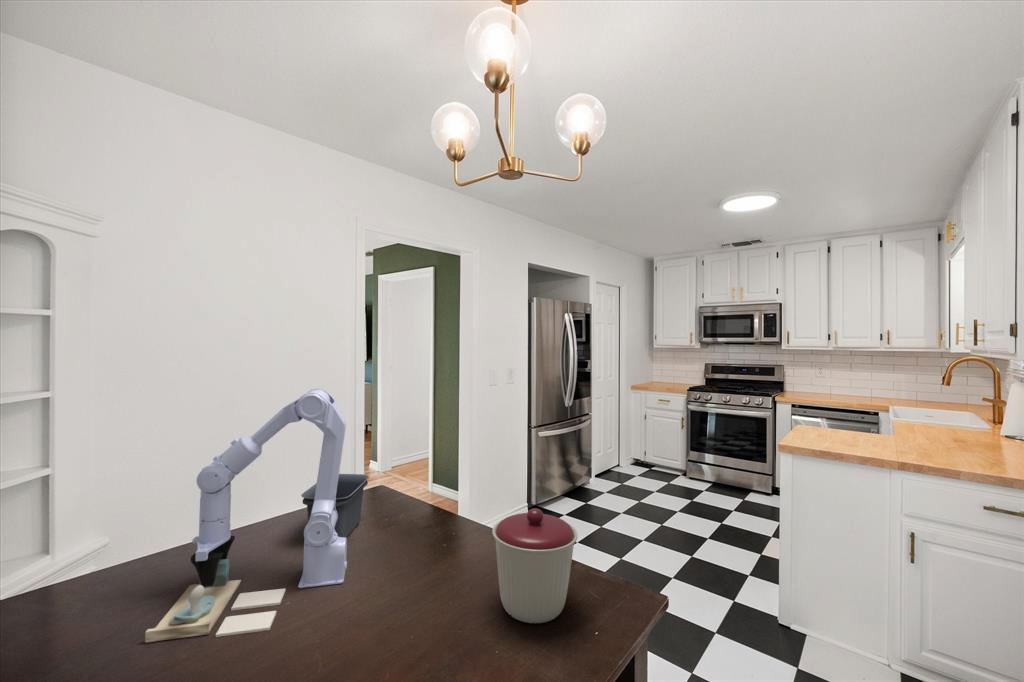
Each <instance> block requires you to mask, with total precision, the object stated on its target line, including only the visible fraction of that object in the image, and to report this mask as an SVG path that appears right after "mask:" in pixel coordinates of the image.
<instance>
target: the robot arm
mask: <svg viewBox="0 0 1024 682" xmlns="http://www.w3.org/2000/svg"><path fill="white" fill-rule="evenodd" d="M302 419H303V420H305V421H308V422H310V423H312V424H314V425H315V426H316V427H317V428H318V429H319V430H320V431H321V432H322V433H323V436H322V437H323V438H322V445H321V451H320V457H319V464H318V465H319V466H318V471H317V479H316V483H317V485H316V491H315V498H314V504H313V508H312V512H311V516H310V519H309V522H308V521H307V522H308V523H307V524H306V525H305V527H304V530H303V537H304V541H303V564H302V565H303V567H302V569H303V571H302V575H301V578H300V581H299V583H298V586H297V587H298V588H299V589H303V588H304V589H305V588H311V587H313V588H314V587H321V586H330V585H338V584H343V583H344V582H345V581H344V580H345V575H346V570H347V567H348V561H347V548H348V546H347V544H348V540H347V539H348V537H347V538H346V537H338V534H337V533H336V531H335V529H334V528H335V524H336V522H337V519H338V514H337V511H336V508H335V504H336V492H337V485H338V478H339V474H340V470H341V469H340V468H341V464H342V456H343V455H342V454H343V450H344V444H345V443H344V441H345V435H346V427H347V425H346V423H347V421H346V420H345V419H344V416H343V414H342V412H341V410H340V409H339V406H338V404H337V402H336V398H334V397H333V396H332V395H331V394H330V393H329V392H328V391H326V389H323V388H313V389H310V390H309V391H307V392H306V393H303V394H302V395H301V396H300V397H299V398H297V399H295V400H294V401H292V402H290V403H289V404H287V405H286V406H284V407H282V408H281V410H279V411H278V412H277V413H276V414H274V416H272V418H270V419H269V420H268V421H267V422H266V423H264V425H262V426H261V428H259V429H258V430H257V431H256V432H255V433H254V434H253V435H251V436H250V435H247V436H244V435H243V436H241V437H240V438H237V437H236V438H235V439H233V440H232V441H231V442H230V446H229V447H228V448H227V449H225V450H224V451H223V453H221V454H220V455H219V454H217V455H215V456H214V457H213V458H212V460H213V462H212V463H210V464H209V465H207V466H205V467H203V468H202V470H201V471H200V472H199V473H198V475H197V477H196V485H197V487H198V489H200V498H199V521H198V523H199V524H198V535H197V536H195V537H193V539H192V540H191V543H192V544H196V546H197V549H196V551H195V553H192V555H191V556H190V563H191V564H192V565H193V566H194V567H195V569H196V572H197V575H198V578H199V584H200V583H201V585H202V586H203V587H207V586H213V584H214V582H215V578H216V572H217V567H218V564H219V561H220V560H223V559H228V555H229V553H230V549H231V547H232V545H233V543H234V541H235V539H236V536H235V535H232V533H231V506H232V505H231V503H232V493H231V492H232V483H231V482H233V480H234V478H235V477H236V476H238V475H239V474H240V473H242V471H244V470H245V469H246V468H247V467H249V466H250V464H252V463H253V462H255V460H256V459H257V458H258V457H260V456H261V455H262V451H263V450H262V449H263V445H264V444H266V443H267V442H269V440H270V439H272V438H273V437H275V435H276V434H278V433H279V432H280V431H281V430H282V429H284V428H285V427H287V425H289V424H291V423H298V422H301V421H302Z"/></svg>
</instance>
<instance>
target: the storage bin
mask: <svg viewBox="0 0 1024 682" xmlns="http://www.w3.org/2000/svg"><path fill="white" fill-rule="evenodd" d="M369 478H370V476H369V475H368V474H363V473H362V474H358V473H354V474H353V473H339V478H338V485H337V492H336V504H335V508H336V511H337V514H338V519H337V522H336V524H335V528H334V529H335V531H336V533H337V534H338V537H346V538H347V539H348V537H349V535H350V534H351V533H352V532H353V530H355V528H356V527H357V526H358V525H359V523H360V522H361V517H362V506H363V505H362V504H363V496H364V495H363V494H364V488H365V487H366V486H367V485H369V484H368V482H369V481H368V479H369ZM316 485H317V482H316V483H315V484H313V485H312V486H311V487H309V488H308V489H306V490H305V491H304V492H302V494H301V497H302V498H303V499H302V504H303V505H305V506H306V512H307V522H309V519H310V516H311V512H312V508H313V504H314V498H315V491H316Z"/></svg>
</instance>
